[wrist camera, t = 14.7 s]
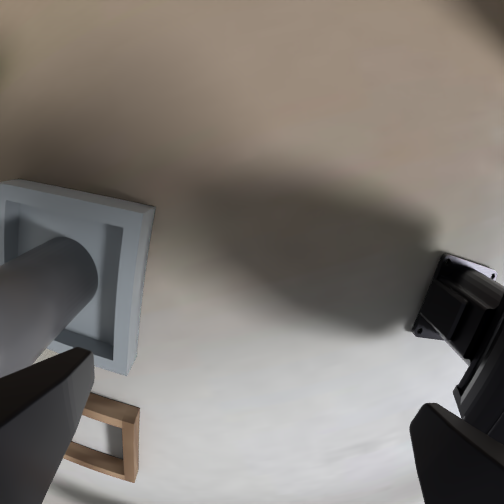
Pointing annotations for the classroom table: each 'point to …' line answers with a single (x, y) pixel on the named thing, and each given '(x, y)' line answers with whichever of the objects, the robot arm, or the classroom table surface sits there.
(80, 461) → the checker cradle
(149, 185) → the classroom table surface
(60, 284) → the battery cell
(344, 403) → the classroom table surface
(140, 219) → the tray
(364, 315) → the classroom table surface
